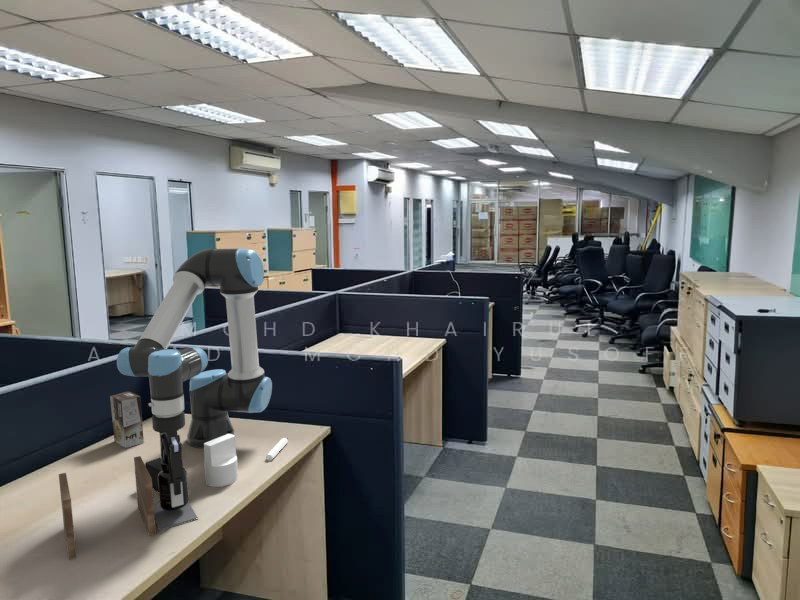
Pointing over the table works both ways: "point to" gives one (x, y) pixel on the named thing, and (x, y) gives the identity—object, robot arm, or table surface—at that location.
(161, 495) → the supplement bottle
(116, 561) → the table surface
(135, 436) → the coffee box
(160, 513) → the zone mat
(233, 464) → the base with upright slab
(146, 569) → the table surface
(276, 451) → the marker
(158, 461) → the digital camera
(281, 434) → the table surface
